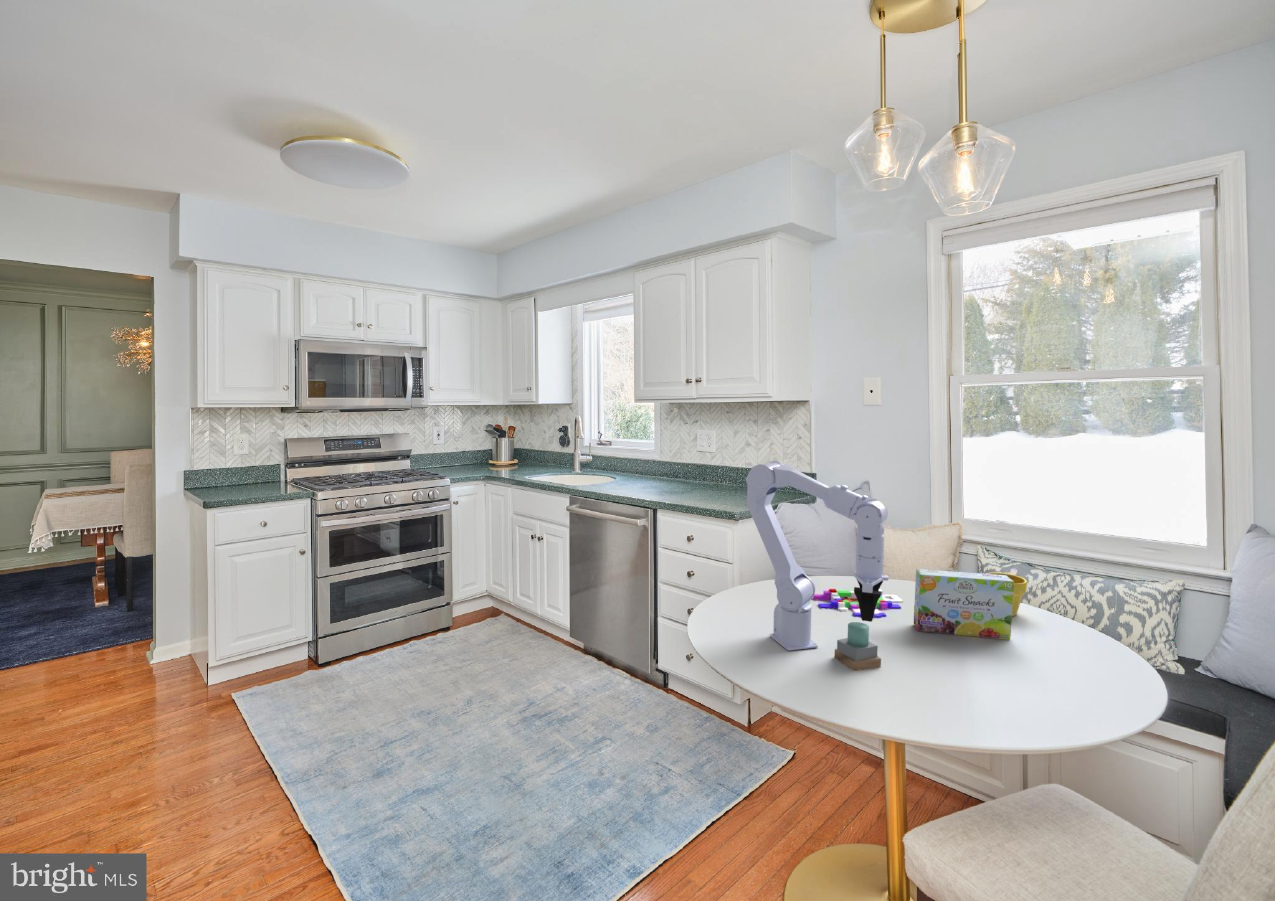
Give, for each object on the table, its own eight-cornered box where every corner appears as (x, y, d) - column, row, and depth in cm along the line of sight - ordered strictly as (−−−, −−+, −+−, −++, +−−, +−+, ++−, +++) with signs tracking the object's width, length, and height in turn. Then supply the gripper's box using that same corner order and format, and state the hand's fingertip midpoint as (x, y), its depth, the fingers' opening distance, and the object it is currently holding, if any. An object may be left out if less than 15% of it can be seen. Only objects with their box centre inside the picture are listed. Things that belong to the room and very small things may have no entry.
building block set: (828, 619, 165) (828, 603, 165) (808, 594, 185) (808, 580, 185) (921, 620, 165) (922, 603, 164) (891, 595, 185) (892, 580, 185)
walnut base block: (834, 659, 140) (834, 648, 140) (861, 656, 142) (861, 645, 141) (852, 673, 133) (853, 661, 133) (880, 669, 135) (881, 658, 135)
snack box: (917, 632, 155) (920, 573, 153) (913, 624, 160) (915, 567, 159) (1011, 640, 150) (1015, 580, 148) (1003, 632, 155) (1007, 573, 154)
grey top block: (836, 650, 139) (837, 639, 139) (857, 646, 141) (858, 635, 141) (855, 661, 133) (856, 650, 133) (877, 656, 136) (877, 645, 135)
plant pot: (1018, 622, 162) (1020, 585, 161) (975, 611, 169) (977, 577, 168) (1030, 612, 169) (1032, 577, 168) (988, 603, 176) (990, 569, 175)
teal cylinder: (843, 640, 138) (844, 623, 138) (860, 638, 139) (861, 621, 139) (854, 647, 134) (855, 630, 134) (872, 646, 135) (873, 628, 135)
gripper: (888, 565, 128) (886, 628, 129) (889, 549, 141) (887, 607, 142) (852, 561, 131) (850, 623, 132) (857, 546, 144) (855, 603, 145)
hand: (867, 614), depth 137 cm, fingers open, 7 cm apart
